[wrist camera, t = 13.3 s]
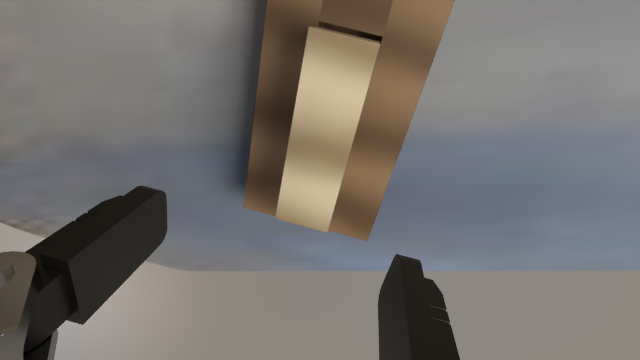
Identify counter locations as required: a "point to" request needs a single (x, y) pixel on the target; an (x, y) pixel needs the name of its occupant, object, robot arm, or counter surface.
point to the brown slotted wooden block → (378, 109)
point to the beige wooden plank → (324, 124)
